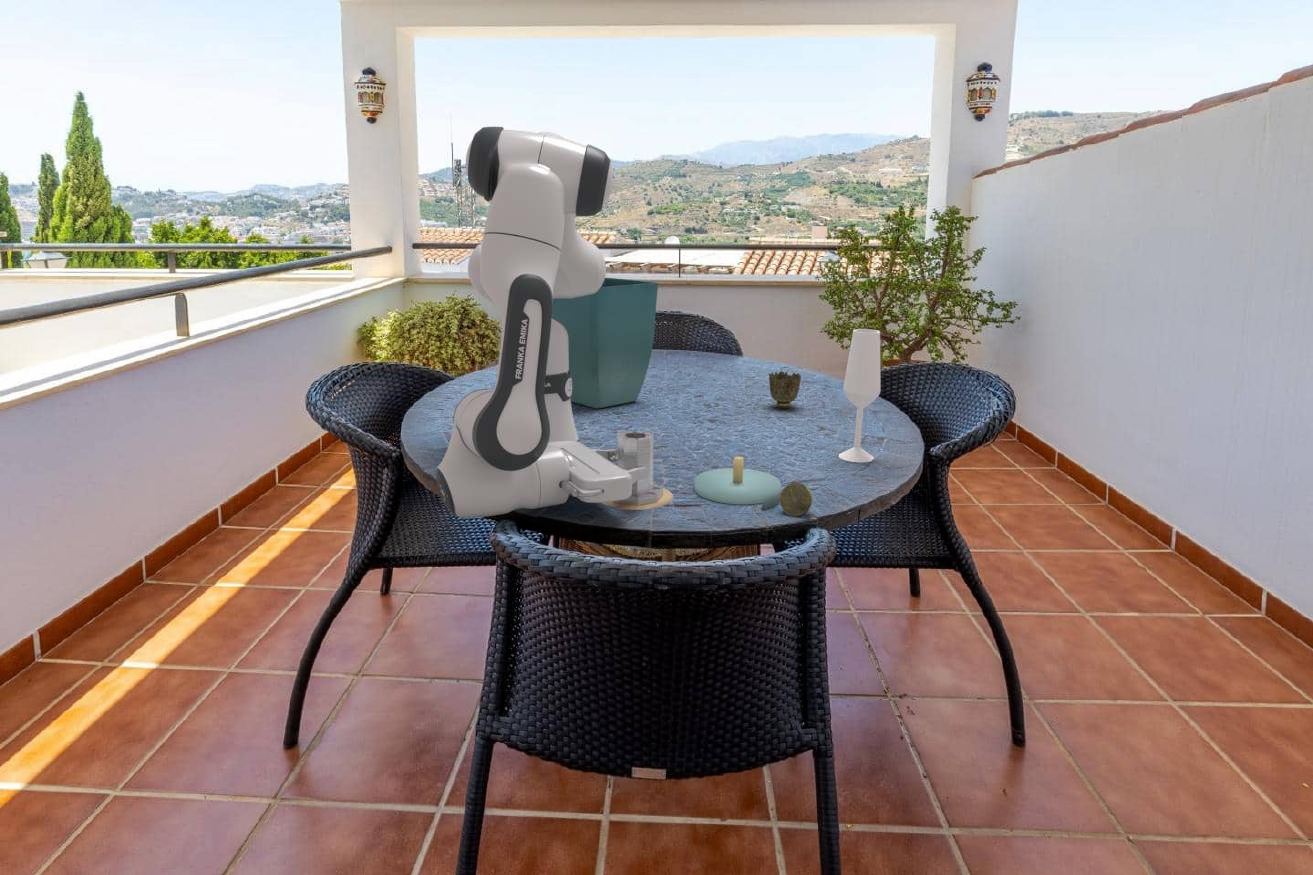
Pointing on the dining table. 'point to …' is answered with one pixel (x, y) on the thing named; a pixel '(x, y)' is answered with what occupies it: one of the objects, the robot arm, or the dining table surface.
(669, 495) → the stand
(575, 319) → the flower pot
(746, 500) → the hub
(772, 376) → the cup
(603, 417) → the dining table surface
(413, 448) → the dining table surface
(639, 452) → the sleeve
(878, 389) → the champagne flute
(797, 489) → the lime
